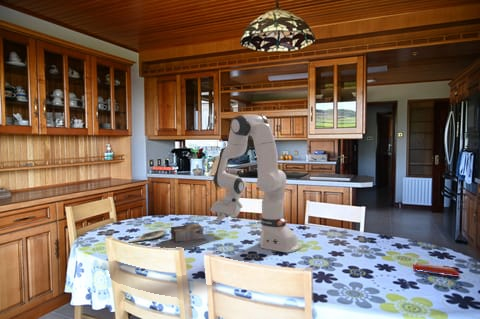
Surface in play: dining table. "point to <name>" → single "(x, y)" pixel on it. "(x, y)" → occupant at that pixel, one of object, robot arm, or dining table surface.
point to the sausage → (435, 268)
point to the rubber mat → (183, 243)
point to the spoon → (150, 235)
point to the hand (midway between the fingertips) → (218, 220)
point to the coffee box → (186, 232)
